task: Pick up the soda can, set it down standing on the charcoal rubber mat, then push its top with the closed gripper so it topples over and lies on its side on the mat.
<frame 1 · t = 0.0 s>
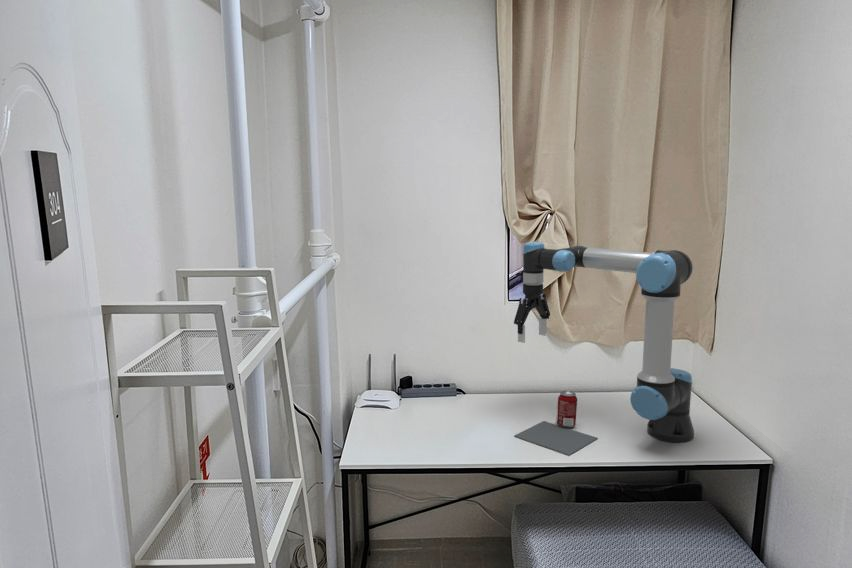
hand: (532, 338, 238), 28 cm above the table, fingers open, 13 cm apart
rubber mat: (555, 437, 216), on the table
soda can: (565, 425, 226), on the table, touching rubber mat
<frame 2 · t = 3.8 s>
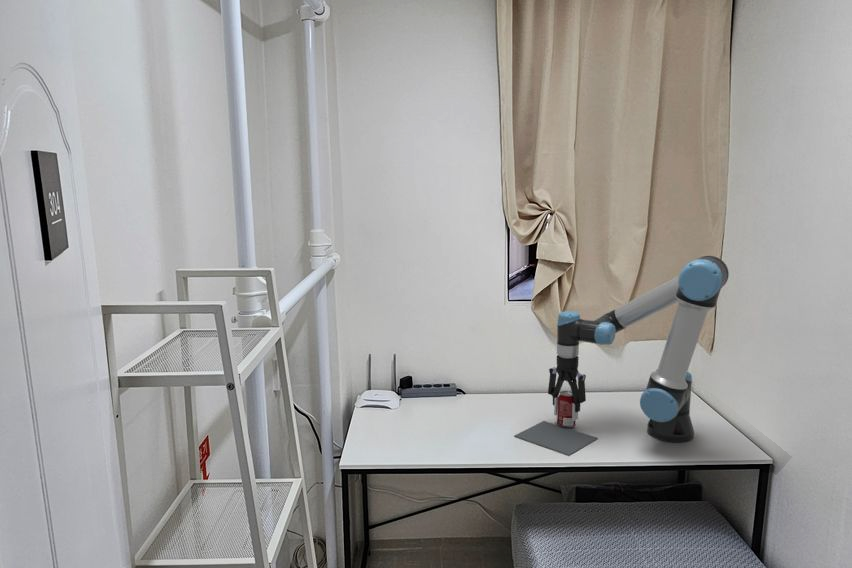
hand: (565, 416, 225), 4 cm above the table, fingers closed on soda can, 7 cm apart
soda can: (565, 426, 226), on the table, touching gripper, rubber mat
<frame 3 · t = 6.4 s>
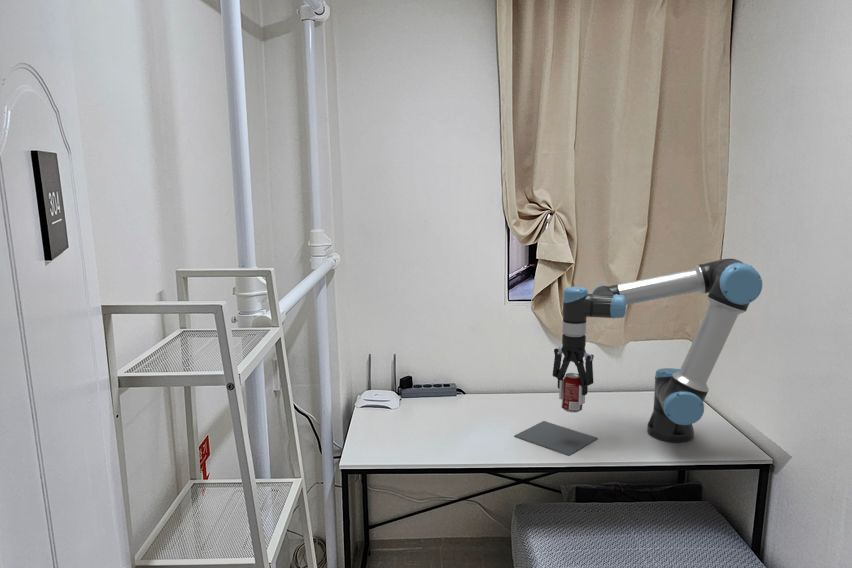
hand: (571, 400, 209), 15 cm above the table, fingers closed on soda can, 7 cm apart
soda can: (571, 410, 210), point 11 cm above the table, touching gripper
when the fingers open (4 cm above the table, at t = 8.9 s): soda can stays where it is, resting on rubber mat.
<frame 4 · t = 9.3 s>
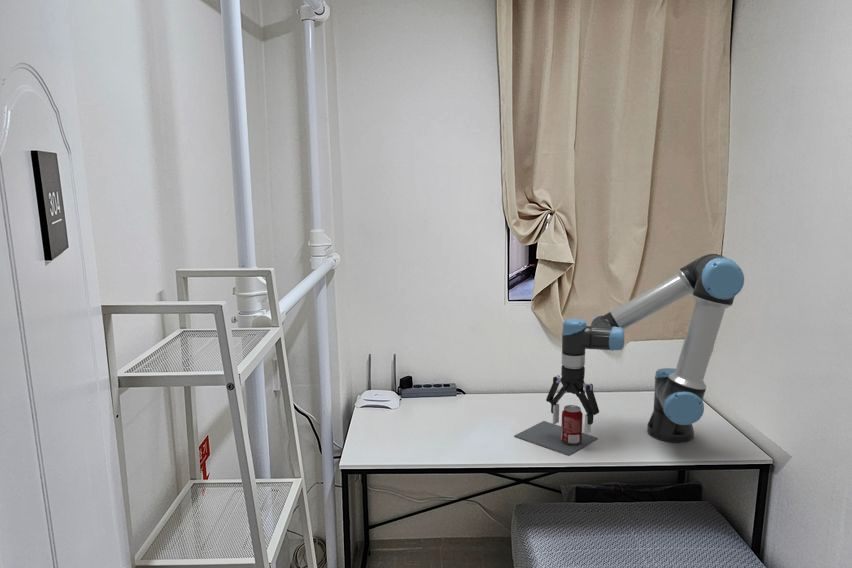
hand: (571, 427, 211), 5 cm above the table, fingers open, 11 cm apart
soda can: (571, 442, 212), resting on rubber mat
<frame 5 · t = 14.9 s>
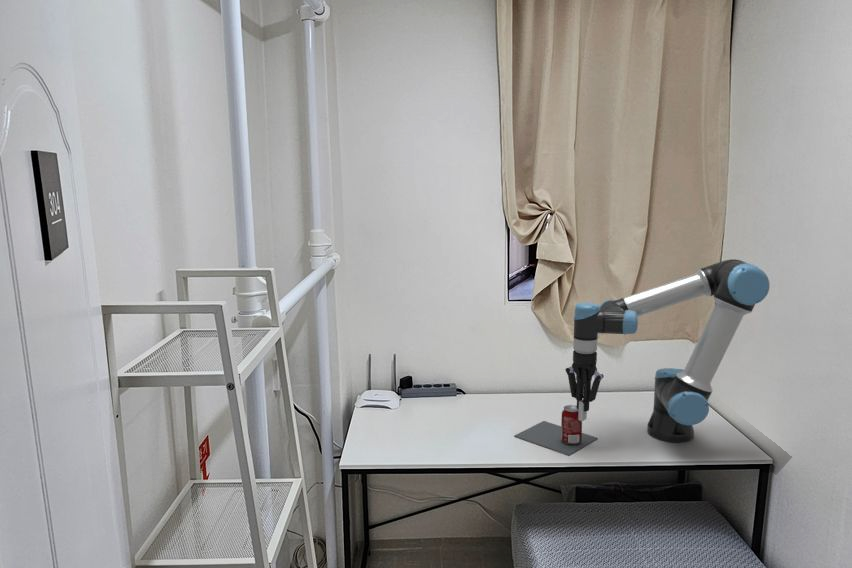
hand: (582, 419, 207), 10 cm above the table, fingers closed
soda can: (571, 442, 212), resting on rubber mat, touching gripper
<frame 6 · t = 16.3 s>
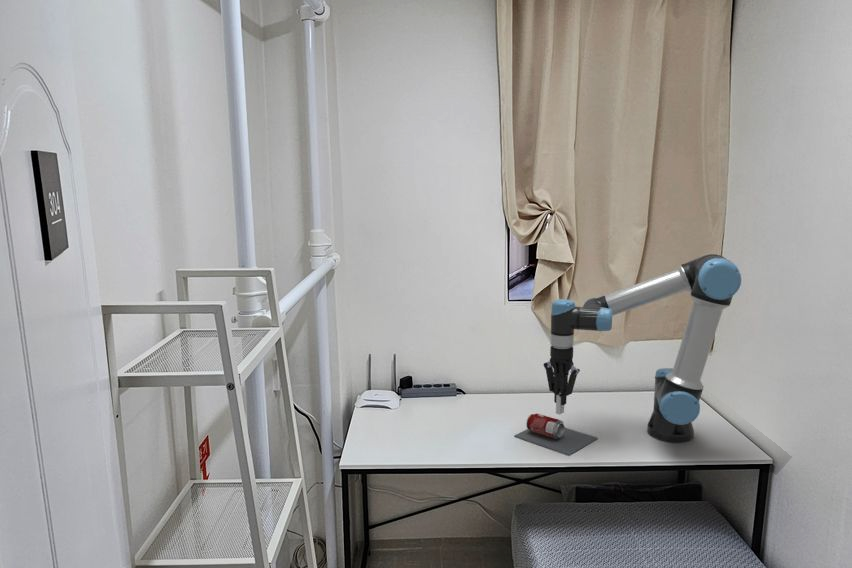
hand: (559, 412, 213), 10 cm above the table, fingers closed
soda can: (561, 430, 212), point 4 cm above the table, touching rubber mat
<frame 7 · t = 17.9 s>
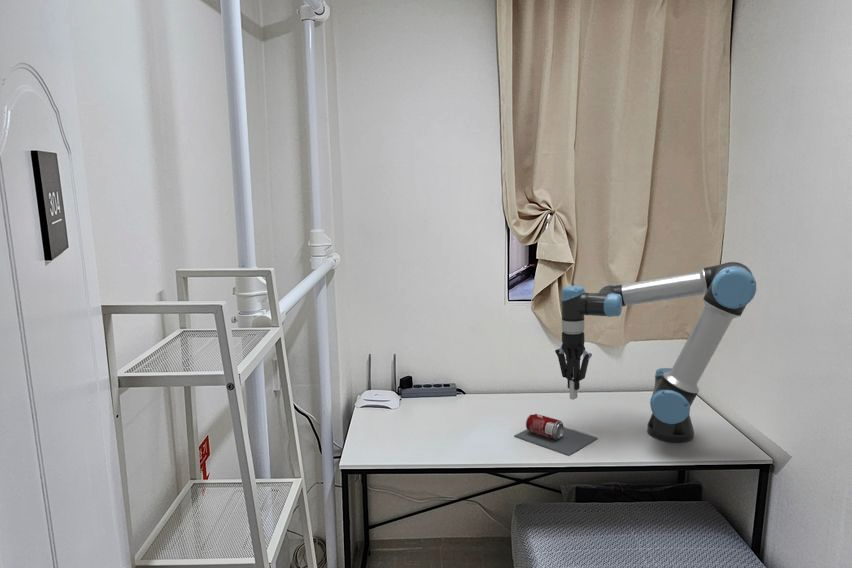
hand: (573, 398, 216), 13 cm above the table, fingers closed
nothing on the table moved.
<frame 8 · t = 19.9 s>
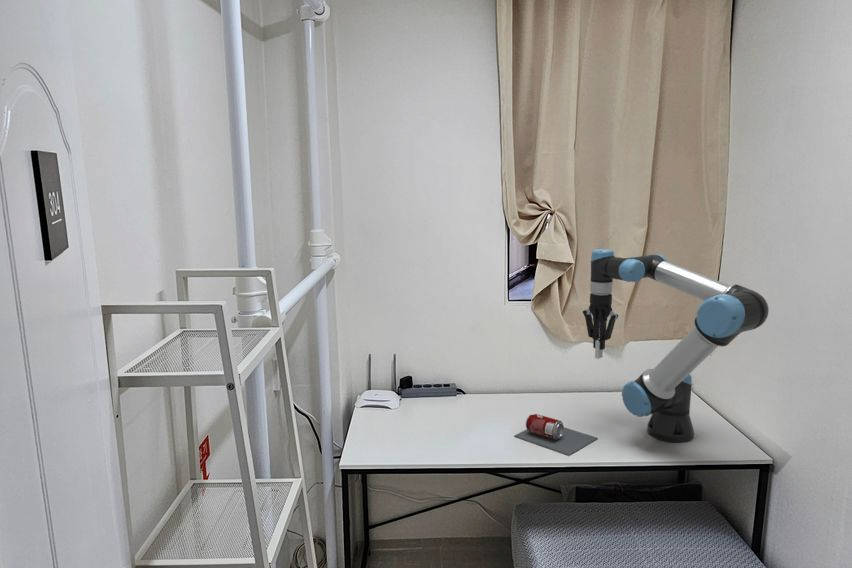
hand: (598, 357, 225), 24 cm above the table, fingers closed
nothing on the table moved.
at the end: soda can tilted 90°; soda can inside the target area on the rubber mat (3.8 cm from its centre), point 3.8 cm above the rubber mat's base; the gripper is holding nothing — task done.
